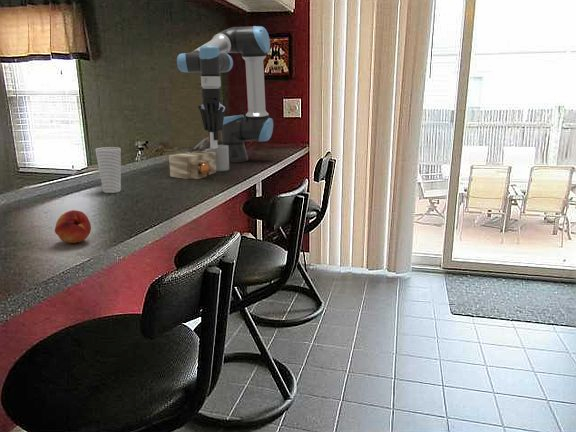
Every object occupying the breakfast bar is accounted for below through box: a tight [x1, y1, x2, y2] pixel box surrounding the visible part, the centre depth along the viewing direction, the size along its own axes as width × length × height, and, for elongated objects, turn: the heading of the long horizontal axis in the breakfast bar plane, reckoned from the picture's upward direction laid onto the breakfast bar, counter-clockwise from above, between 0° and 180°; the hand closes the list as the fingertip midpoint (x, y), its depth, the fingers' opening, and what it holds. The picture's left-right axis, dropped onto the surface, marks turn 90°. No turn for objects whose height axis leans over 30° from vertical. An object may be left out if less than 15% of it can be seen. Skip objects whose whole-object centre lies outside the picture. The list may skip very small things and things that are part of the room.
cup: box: [94, 146, 122, 194], centre depth 167 cm, size 8×8×16 cm
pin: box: [198, 163, 211, 176], centre depth 197 cm, size 5×17×5 cm, turn 57°
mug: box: [203, 144, 230, 172], centre depth 215 cm, size 12×8×11 cm
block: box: [168, 148, 217, 180], centre depth 200 cm, size 18×14×11 cm
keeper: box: [191, 136, 210, 152], centre depth 204 cm, size 5×11×2 cm
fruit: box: [54, 209, 92, 244], centre depth 111 cm, size 8×8×8 cm
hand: (214, 148), depth 189 cm, fingers closed
